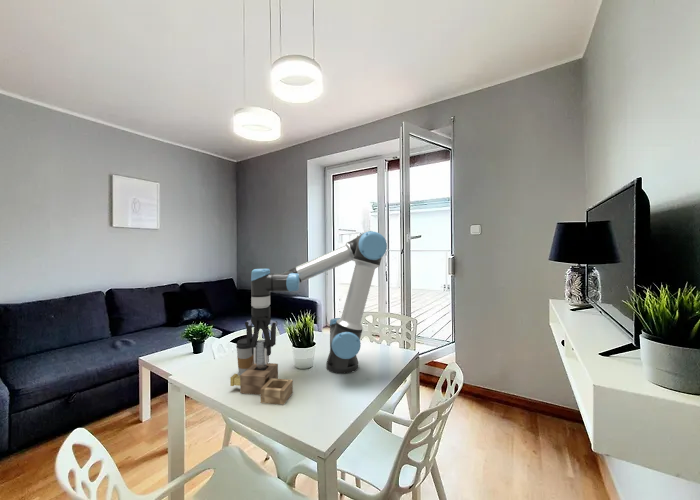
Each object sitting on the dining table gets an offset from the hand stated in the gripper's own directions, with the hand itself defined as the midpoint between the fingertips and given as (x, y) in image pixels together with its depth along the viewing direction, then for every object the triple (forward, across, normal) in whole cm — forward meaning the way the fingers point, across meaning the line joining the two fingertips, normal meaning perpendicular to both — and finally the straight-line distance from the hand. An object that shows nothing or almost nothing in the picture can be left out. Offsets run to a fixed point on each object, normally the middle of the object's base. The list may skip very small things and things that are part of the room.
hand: (261, 362), depth 121 cm
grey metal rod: (+9, 0, 0) cm, 9 cm away
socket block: (+9, 0, +2) cm, 9 cm away
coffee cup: (+9, +11, -9) cm, 17 cm away
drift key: (+7, +3, +6) cm, 9 cm away
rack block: (+9, -10, +9) cm, 17 cm away
